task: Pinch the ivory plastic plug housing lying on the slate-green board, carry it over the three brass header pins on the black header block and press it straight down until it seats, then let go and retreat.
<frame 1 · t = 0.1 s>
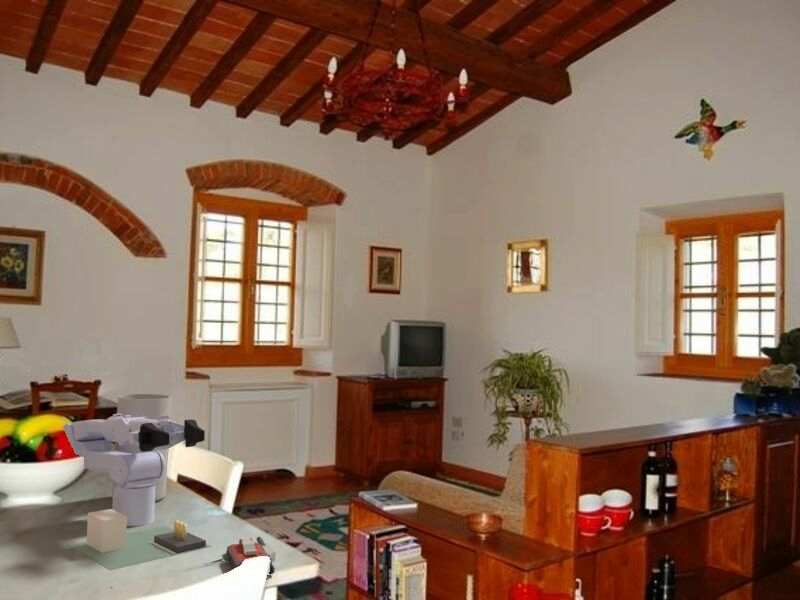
hand: (185, 437, 142), 22 cm above the table, tool horizontal, fingers open, 7 cm apart
walkie-talkie: (250, 563, 135), on the table
header board: (140, 551, 139), on the table
cylinder vase: (138, 499, 177), on the table, touching arm
plug housing: (106, 546, 138), point 1 cm above the table, touching header board
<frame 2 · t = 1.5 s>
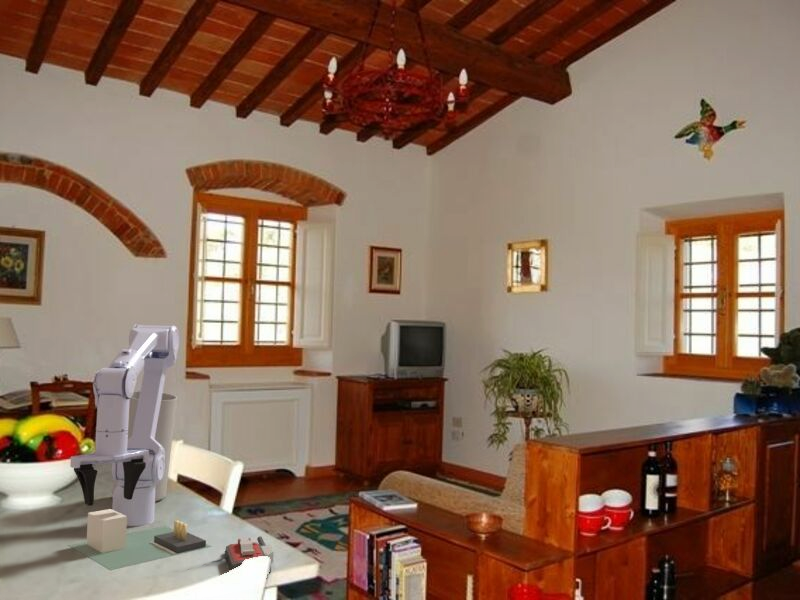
hand: (108, 501, 138), 9 cm above the table, tool pointing down, fingers open, 7 cm apart
cylinder vase: (138, 497, 177), on the table
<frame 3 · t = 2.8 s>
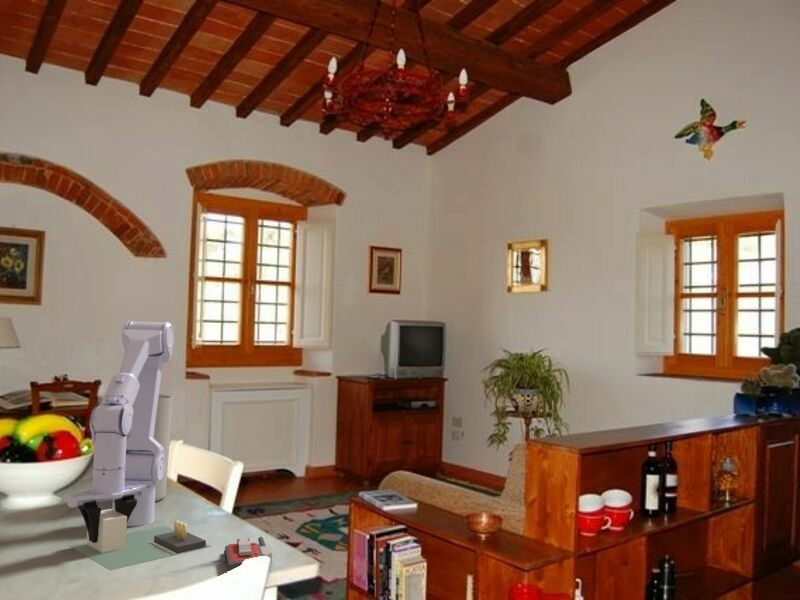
hand: (106, 538, 138), 2 cm above the table, tool pointing down, fingers closed on plug housing, 4 cm apart
plug housing: (106, 546, 138), point 1 cm above the table, touching gripper, header board
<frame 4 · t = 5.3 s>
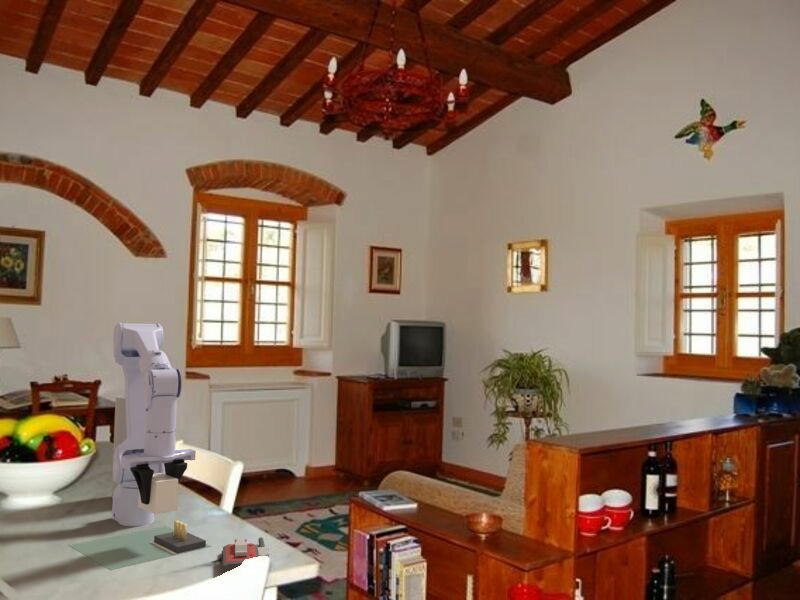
hand: (157, 501, 139), 9 cm above the table, tool pointing down, fingers closed on plug housing, 4 cm apart
plug housing: (157, 508, 139), point 8 cm above the table, touching gripper
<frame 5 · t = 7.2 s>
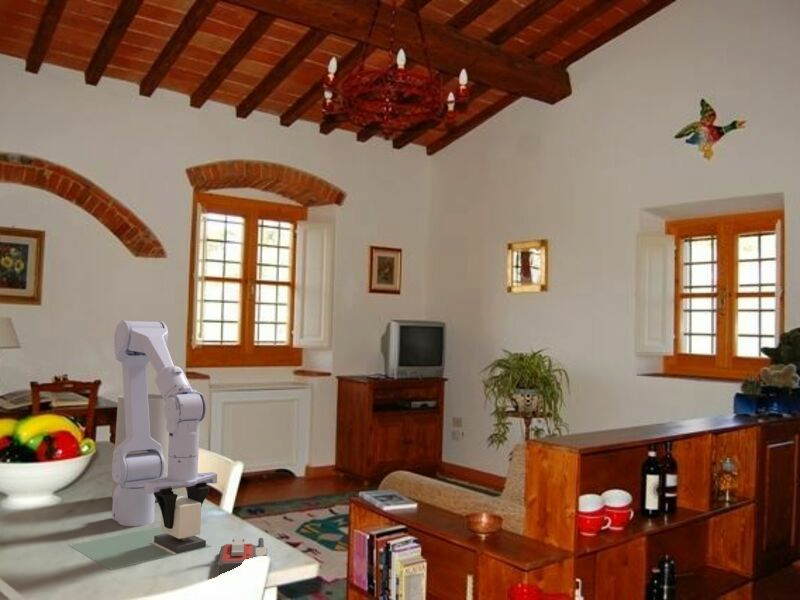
hand: (180, 525, 140), 5 cm above the table, tool pointing down, fingers closed on plug housing, 4 cm apart
plug housing: (180, 532, 140), point 3 cm above the table, touching gripper
when the fingers open (4 cm above the table, at t = 7.9 s): plug housing stays where it is, resting on header board.
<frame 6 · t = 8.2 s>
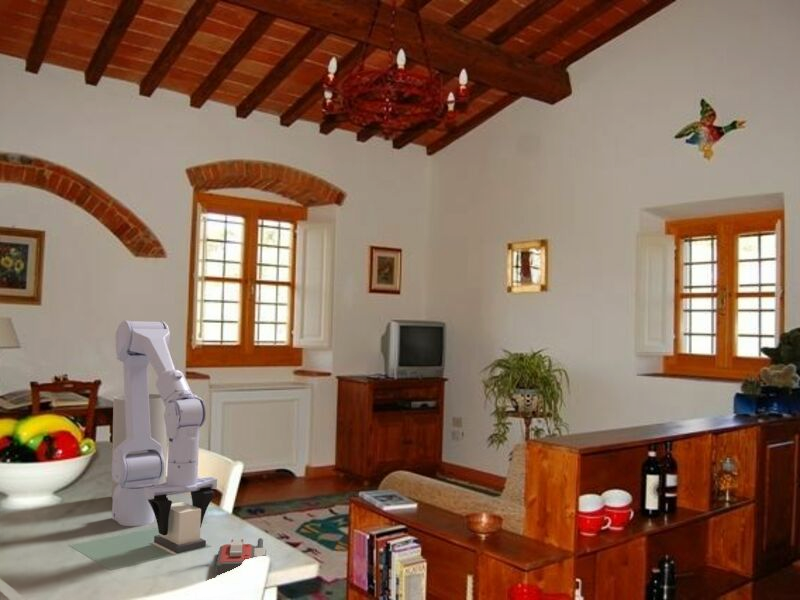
hand: (180, 530, 140), 4 cm above the table, tool pointing down, fingers open, 7 cm apart
plug housing: (180, 538, 140), point 2 cm above the table, touching header board
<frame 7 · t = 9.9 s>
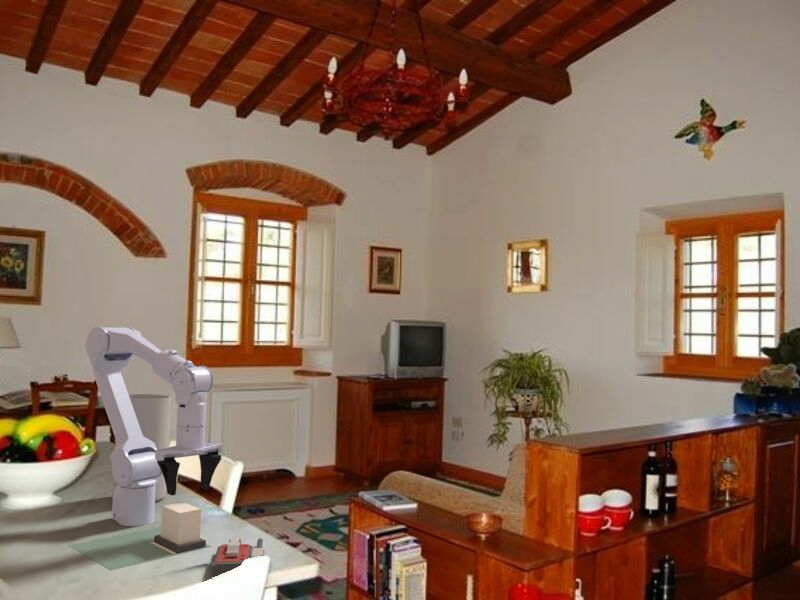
hand: (188, 491, 148), 9 cm above the table, tool pointing down, fingers open, 7 cm apart
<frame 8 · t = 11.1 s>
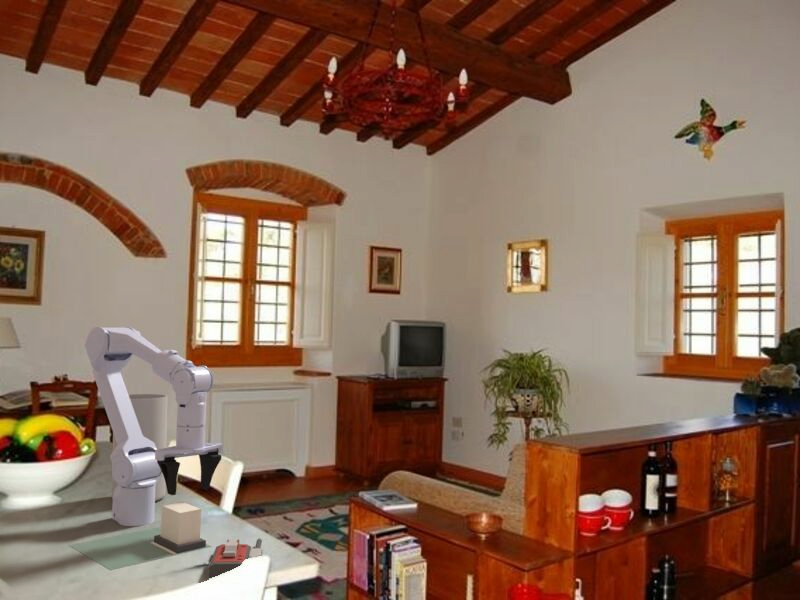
hand: (188, 491, 148), 9 cm above the table, tool pointing down, fingers open, 7 cm apart
at the end: plug housing 0.0 cm from the target spot on the header board, point 2.2 cm above the header board's base; plug housing tilted 0°; the gripper is holding nothing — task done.
